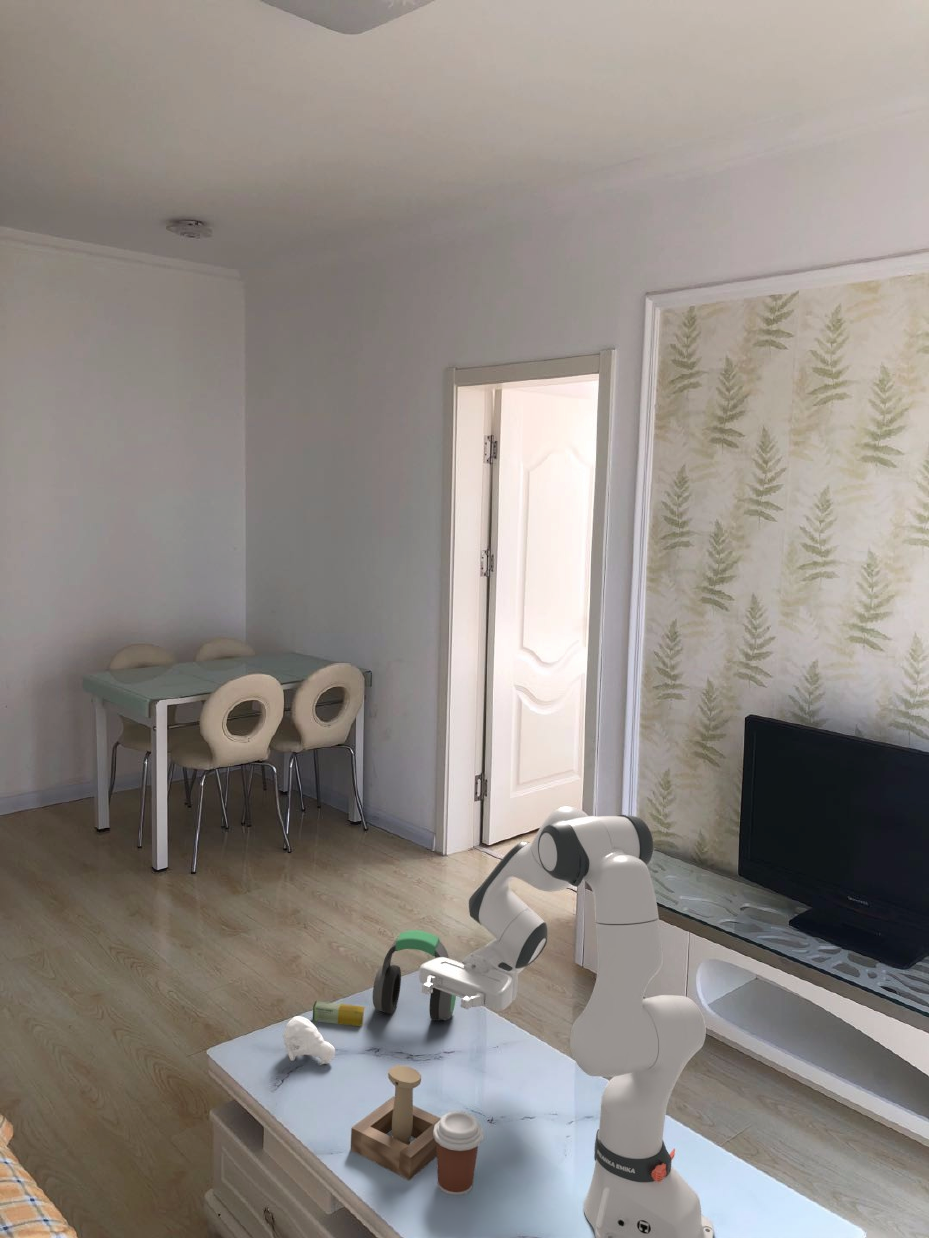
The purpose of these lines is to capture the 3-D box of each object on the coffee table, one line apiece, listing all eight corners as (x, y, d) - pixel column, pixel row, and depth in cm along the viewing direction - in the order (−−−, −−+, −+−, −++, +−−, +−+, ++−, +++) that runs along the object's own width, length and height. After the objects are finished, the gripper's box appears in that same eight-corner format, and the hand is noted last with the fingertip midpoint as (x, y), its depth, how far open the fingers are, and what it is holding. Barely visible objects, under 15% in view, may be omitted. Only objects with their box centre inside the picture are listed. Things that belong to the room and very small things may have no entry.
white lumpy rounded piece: (297, 1007, 226) (344, 1026, 222) (293, 1042, 228) (339, 1061, 223) (282, 1020, 221) (329, 1039, 216) (277, 1056, 222) (324, 1076, 217)
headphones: (456, 1008, 248) (461, 930, 245) (448, 1031, 237) (452, 949, 235) (381, 997, 251) (385, 920, 249) (369, 1019, 240) (373, 938, 238)
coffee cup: (419, 1183, 184) (423, 1121, 183) (453, 1160, 191) (456, 1100, 189) (457, 1208, 178) (461, 1144, 177) (490, 1183, 185) (494, 1122, 184)
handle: (406, 1160, 190) (410, 1085, 188) (379, 1146, 194) (383, 1072, 192) (422, 1147, 194) (426, 1074, 192) (395, 1134, 198) (399, 1062, 196)
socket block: (449, 1144, 195) (451, 1122, 195) (409, 1180, 185) (410, 1157, 184) (392, 1116, 203) (393, 1095, 202) (350, 1149, 192) (351, 1127, 192)
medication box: (311, 1021, 238) (312, 1005, 237) (314, 1015, 241) (315, 1000, 240) (361, 1027, 237) (362, 1011, 236) (364, 1021, 240) (365, 1005, 239)
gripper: (441, 944, 218) (402, 966, 206) (524, 972, 206) (487, 997, 195) (440, 972, 218) (401, 996, 207) (522, 1001, 207) (486, 1028, 196)
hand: (444, 997), depth 201 cm, fingers open, 8 cm apart
